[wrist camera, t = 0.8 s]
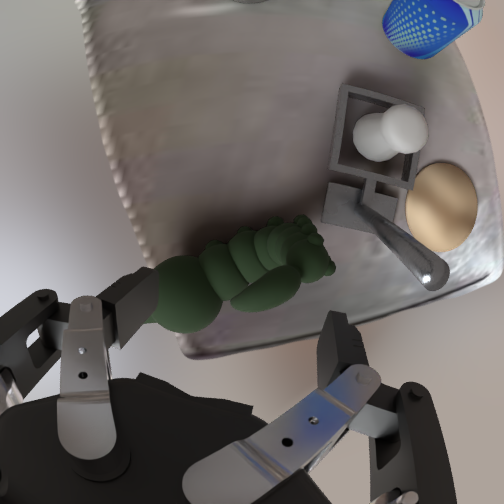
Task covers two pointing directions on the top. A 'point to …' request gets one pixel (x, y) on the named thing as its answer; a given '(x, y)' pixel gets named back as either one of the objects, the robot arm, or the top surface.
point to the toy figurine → (240, 274)
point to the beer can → (429, 24)
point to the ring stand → (378, 198)
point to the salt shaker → (390, 133)
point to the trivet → (441, 207)
